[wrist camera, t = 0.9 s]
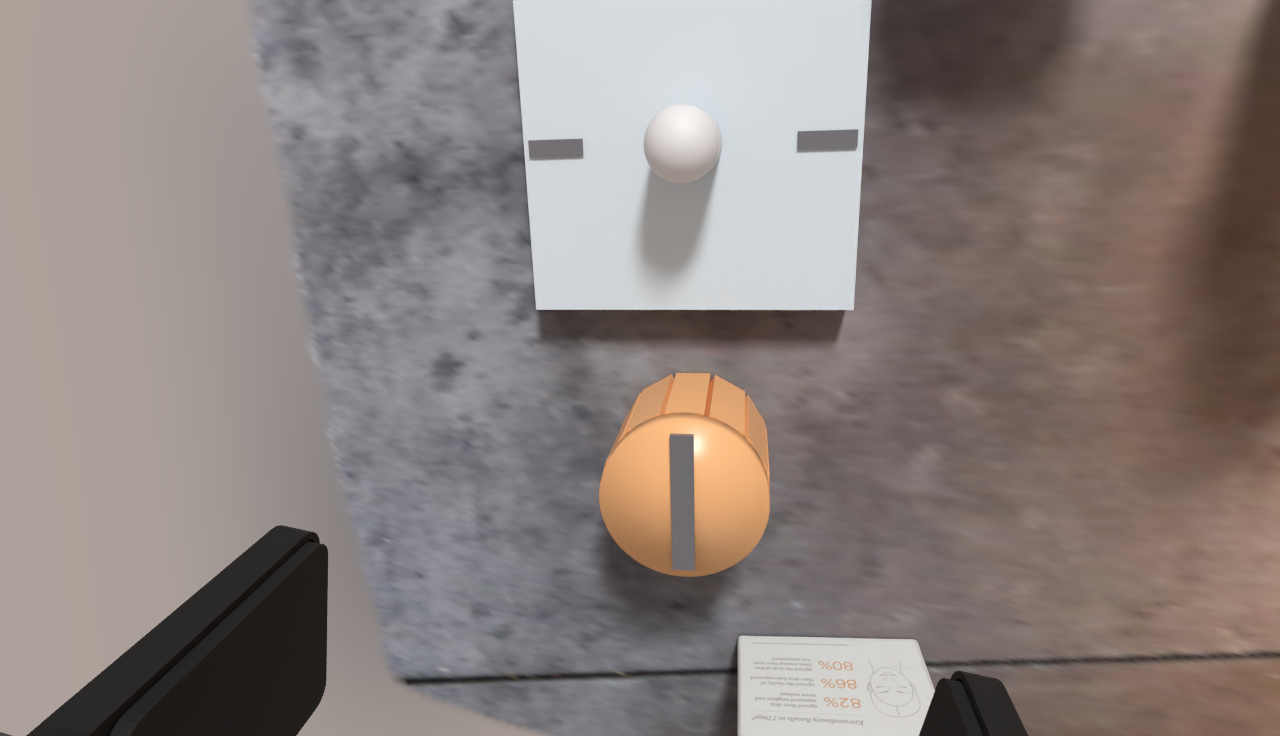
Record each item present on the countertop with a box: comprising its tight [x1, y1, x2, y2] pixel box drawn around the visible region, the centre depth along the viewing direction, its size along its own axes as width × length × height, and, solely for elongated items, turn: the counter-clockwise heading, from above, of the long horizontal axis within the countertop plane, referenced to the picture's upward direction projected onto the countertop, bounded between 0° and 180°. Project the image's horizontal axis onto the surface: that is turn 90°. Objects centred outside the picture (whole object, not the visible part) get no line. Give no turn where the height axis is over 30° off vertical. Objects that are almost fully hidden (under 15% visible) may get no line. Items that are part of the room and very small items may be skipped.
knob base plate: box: [513, 0, 871, 310], centre depth 24 cm, size 12×12×6 cm
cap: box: [599, 373, 770, 577], centre depth 28 cm, size 6×6×6 cm
